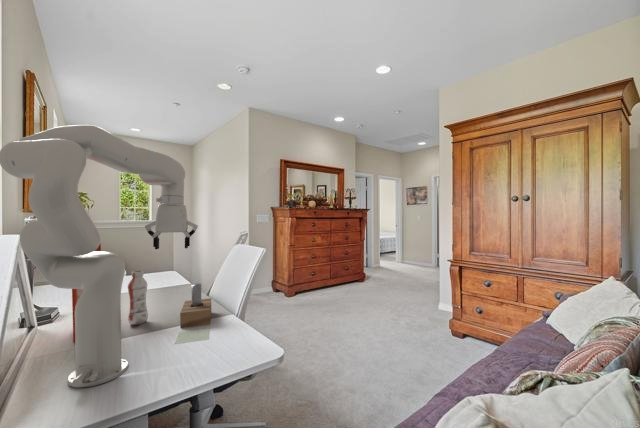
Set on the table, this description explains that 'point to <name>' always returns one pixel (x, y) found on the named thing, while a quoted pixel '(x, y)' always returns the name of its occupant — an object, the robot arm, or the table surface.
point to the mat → (192, 336)
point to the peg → (196, 295)
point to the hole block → (195, 314)
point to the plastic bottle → (137, 299)
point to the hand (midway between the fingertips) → (171, 248)
